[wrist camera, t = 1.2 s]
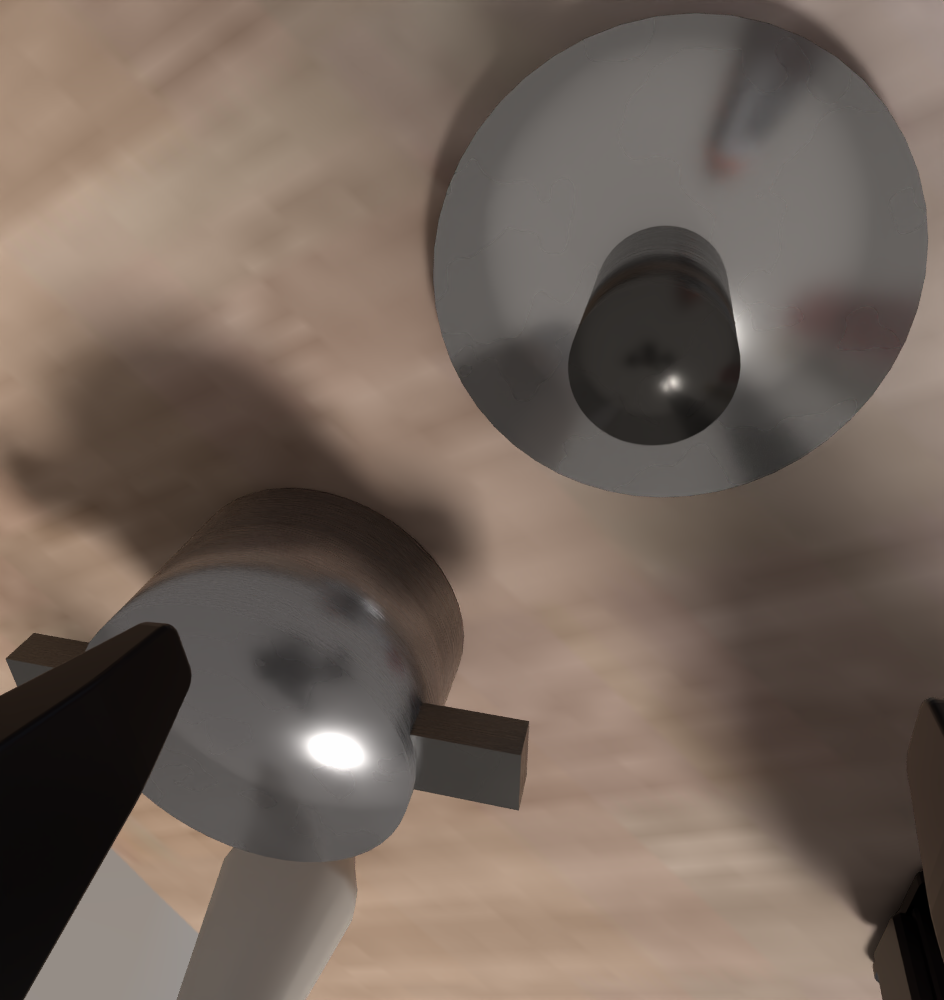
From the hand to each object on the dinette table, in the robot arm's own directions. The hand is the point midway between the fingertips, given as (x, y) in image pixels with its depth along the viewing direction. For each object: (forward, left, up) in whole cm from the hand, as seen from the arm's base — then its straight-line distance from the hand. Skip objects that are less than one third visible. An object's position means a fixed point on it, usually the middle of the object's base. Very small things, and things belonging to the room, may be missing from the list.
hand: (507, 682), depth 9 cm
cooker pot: (+9, +10, -12) cm, 18 cm away
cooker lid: (-1, -2, -13) cm, 13 cm away
